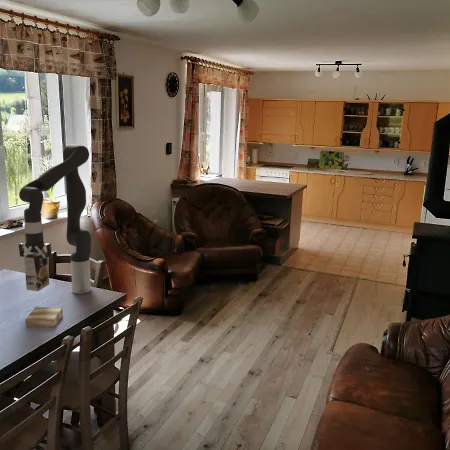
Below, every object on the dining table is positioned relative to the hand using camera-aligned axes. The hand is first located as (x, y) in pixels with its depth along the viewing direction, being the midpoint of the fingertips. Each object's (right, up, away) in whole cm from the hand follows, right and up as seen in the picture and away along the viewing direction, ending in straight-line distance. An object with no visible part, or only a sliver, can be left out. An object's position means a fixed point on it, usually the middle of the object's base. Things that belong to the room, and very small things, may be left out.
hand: (36, 265), depth 207 cm
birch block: (+7, -25, -7) cm, 26 cm away
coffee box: (0, -11, +3) cm, 11 cm away
